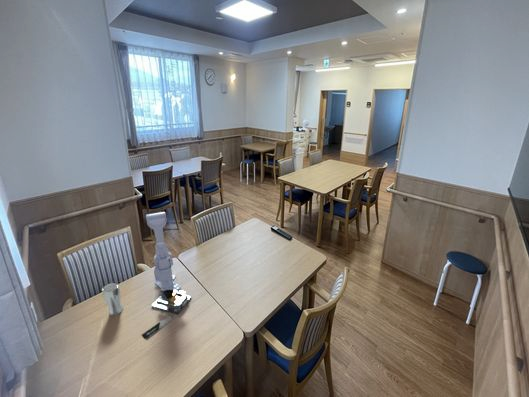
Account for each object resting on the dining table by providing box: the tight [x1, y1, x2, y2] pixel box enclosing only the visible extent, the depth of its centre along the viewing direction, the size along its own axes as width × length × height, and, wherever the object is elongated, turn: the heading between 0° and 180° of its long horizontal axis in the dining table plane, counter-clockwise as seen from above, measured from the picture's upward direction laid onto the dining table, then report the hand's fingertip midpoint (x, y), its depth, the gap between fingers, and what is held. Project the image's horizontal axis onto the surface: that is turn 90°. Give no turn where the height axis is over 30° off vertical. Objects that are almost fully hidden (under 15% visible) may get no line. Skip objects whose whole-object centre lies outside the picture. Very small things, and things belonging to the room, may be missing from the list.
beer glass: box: [101, 282, 124, 316], centre depth 125 cm, size 7×7×15 cm
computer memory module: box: [141, 314, 174, 340], centre depth 119 cm, size 15×1×4 cm
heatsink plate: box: [151, 289, 192, 316], centre depth 133 cm, size 16×12×4 cm
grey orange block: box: [169, 293, 187, 307], centre depth 131 cm, size 8×4×4 cm, turn 73°
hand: (169, 298), depth 133 cm, fingers closed
